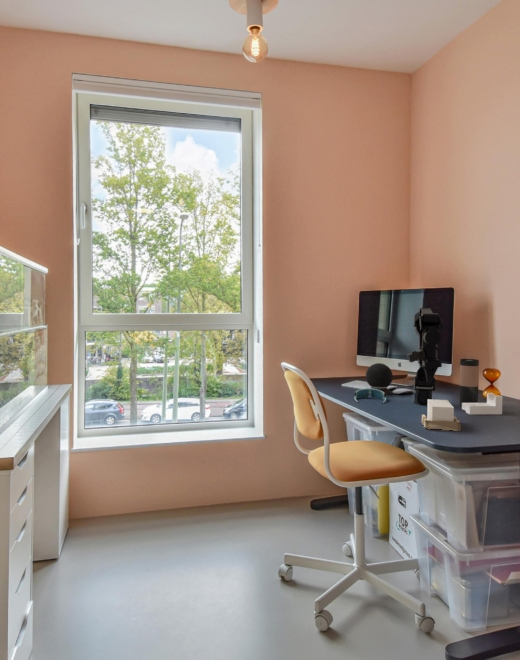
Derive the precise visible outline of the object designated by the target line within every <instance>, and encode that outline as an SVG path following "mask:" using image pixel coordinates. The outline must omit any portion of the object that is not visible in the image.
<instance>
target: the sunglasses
mask: <svg viewBox="0 0 520 660" xmlns="http://www.w3.org/2000/svg"><path fill="white" fill-rule="evenodd" d="M354 392H355V393H354V397H353V399H354V400H355V402H356V403H358V404H360V402H359V401H358V400H357V399H367V398H368V397H369V395H370V396H371V398H372V399H378V398H380V399H379V400H383V401H382V402H381V403H383V404H385V403H384V402H386V401H387V398H386V396H387V395H385V393H384V392H383V391H380V390H378V389H374V388H371V387H366V388H361V389H358V390H356V391H354Z"/></svg>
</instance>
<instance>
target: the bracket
mask: <svg viewBox="0 0 520 660" xmlns="http://www.w3.org/2000/svg"><path fill="white" fill-rule="evenodd" d="M461 410H463V411H465V413H466V414H468V415H503V395H495V393H493V392H488V393H486V402H478V403H462V405H461Z"/></svg>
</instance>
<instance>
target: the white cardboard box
mask: <svg viewBox="0 0 520 660" xmlns="http://www.w3.org/2000/svg"><path fill="white" fill-rule="evenodd" d="M426 411H427V412H426V415H427V416H426V418H427V419H428V420H434V421H454V416H455V415H454V414H455V412H454V411H455V407H454V406H453V405H452V404H451V403H450V402H449V400H448V399H433V398H432V399H428V403H427V410H426Z"/></svg>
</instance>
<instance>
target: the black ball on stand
mask: <svg viewBox="0 0 520 660" xmlns="http://www.w3.org/2000/svg"><path fill="white" fill-rule="evenodd" d="M393 375H394V374H393V371H392V370H391V368H390V367H389V366H388V365H386V364H384V363H380V362H379V363H378V362H376V363H373V364H372V365H370V366H369V367H368V368H367V370H366V372H365V380H366V382H367V384H368V385H369V386H370V388H374V389H378V390H380V391H383V392H384V393H385V394H389V395H391V390H390V389H389V388H388V387H389V386H391V384H392V382H393V379H394V377H393Z"/></svg>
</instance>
